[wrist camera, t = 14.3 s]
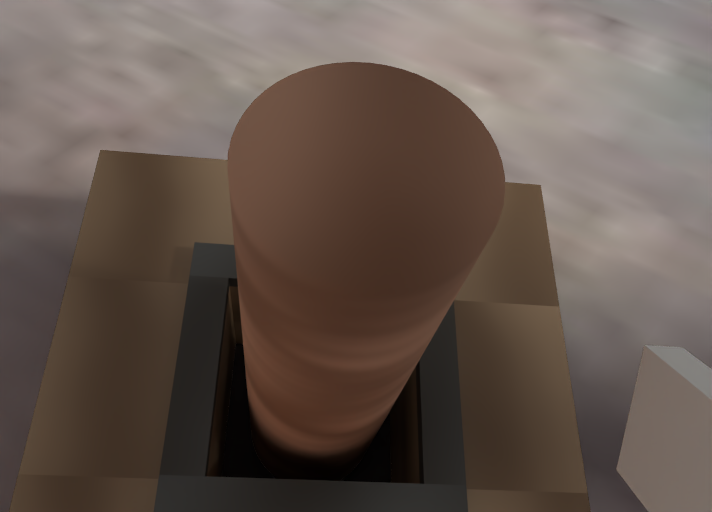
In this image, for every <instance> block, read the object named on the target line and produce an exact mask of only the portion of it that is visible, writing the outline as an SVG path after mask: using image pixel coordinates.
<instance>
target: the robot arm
mask: <svg viewBox="0 0 712 512" xmlns="http://www.w3.org/2000/svg"><path fill="white" fill-rule="evenodd" d="M616 470H617V472H618V473H619V474H620V476H621V477H622V478H623V479H624V481H625V482H626V483H627V485H628V486H629V487H630V489H631V490H632V491H633V492H634V494H635V495H636V496H637V498H638V499H639V500H640V502H641V503H642V504H643V506H644V507H645V508H646V509H647V511H648V512H712V369H711V368H709V367H708V366H707V365H705V364H704V363H703V362H701V361H700V360H699V359H697V358H696V357H695V356H693V355H692V354H691V353H689V352H688V351H687V350H685V349H684V348H683V347H670V346H654V345H644V349H643V354H642V358H641V363H640V367H639V371H638V376H637V380H636V385H635V389H634V394H633V398H632V402H631V407H630V411H629V416H628V420H627V425H626V429H625V433H624V438H623V442H622V447H621V451H620V456H619V460H618V464H617V469H616Z"/></svg>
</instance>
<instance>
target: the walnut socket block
mask: <svg viewBox="0 0 712 512" xmlns="http://www.w3.org/2000/svg"><path fill="white" fill-rule="evenodd" d="M227 165H228V160H220V159H208V158H195V157H183V156H170V155H158V154H145V153H133V152H120V151H108V150H100V153H99V157H98V161H97V165H96V169H95V173H94V177H93V181H92V185H91V189H90V193H89V197H88V201H87V205H86V209H85V213H84V217H83V221H82V225H81V228H80V232H79V236H78V240H77V244H76V248H75V252H74V256H73V260H72V264H71V268H70V272H69V276H68V280H67V284H66V288H65V292H64V296H63V299H62V303H61V307H60V311H59V315H58V319H57V323H56V327H55V331H54V335H53V339H52V343H51V347H50V351H49V355H48V359H47V363H46V367H45V371H44V374H43V378H42V382H41V386H40V390H39V394H38V398H37V402H36V406H35V410H34V414H33V418H32V422H31V426H30V430H29V434H28V438H27V442H26V446H25V449H24V453H23V457H22V461H21V465H20V469H19V473H18V477H17V481H16V485H15V489H14V493H13V497H12V501H11V505H10V509H9V512H591V511H590V505H589V498H588V492H587V485H586V479H585V472H584V465H583V459H582V452H581V446H580V439H579V433H578V426H577V420H576V413H575V407H574V400H573V394H572V387H571V380H570V374H569V367H568V361H567V354H566V348H565V341H564V335H563V328H562V322H561V315H560V309H559V302H558V295H557V289H556V282H555V276H554V269H553V263H552V256H551V250H550V243H549V237H548V230H547V224H546V217H545V210H544V204H543V197H542V191H541V185H534V184H521V183H508V182H505V197H504V205H503V209H502V212H501V216H500V219H499V221H498V223H497V226H496V228H495V230H494V232H493V234H492V235H491V237H490V239H489V241H488V242H487V244H486V246H485V248H484V249H483V251H482V253H481V254H480V256H479V258H478V260H477V261H476V263H475V265H474V267H473V268H472V270H471V272H470V273H469V275H468V277H467V279H466V280H465V282H464V284H463V286H462V287H461V289H460V291H459V292H458V294H457V296H456V298H455V299H454V301H453V303H452V305H451V306H450V308H449V310H448V311H447V313H446V315H445V317H444V318H443V320H442V322H441V324H440V325H439V327H438V329H437V330H436V332H435V334H434V336H433V337H432V339H431V341H430V343H429V344H428V346H427V348H426V349H425V351H424V353H423V355H422V356H421V358H420V360H419V362H418V363H417V365H416V367H415V368H414V370H413V372H412V374H411V375H410V377H409V379H408V381H407V382H406V384H405V386H404V387H403V389H402V391H401V393H400V394H399V396H398V398H397V400H396V401H395V403H394V405H393V406H392V408H391V410H390V457H391V483H386V482H356V481H327V480H298V479H268V478H239V477H222V469H223V460H224V451H225V441H226V432H227V423H228V413H229V404H230V395H231V385H232V376H233V367H234V358H235V348H236V343H237V344H243V337H242V326H241V314H240V303H239V292H238V281H237V270H236V259H235V248H234V237H233V226H232V215H231V204H230V192H229V181H228V170H227Z"/></svg>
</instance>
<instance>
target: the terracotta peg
mask: <svg viewBox="0 0 712 512" xmlns="http://www.w3.org/2000/svg"><path fill="white" fill-rule="evenodd" d="M227 170H228V181H229V192H230V204H231V215H232V226H233V237H234V248H235V259H236V270H237V281H238V292H239V303H240V314H241V326H242V337H243V348H244V359H245V370H246V381H247V392H248V403H249V414H250V425H251V436H252V442H253V446H254V449H255V451H256V454H257V456H258V458H259V459H260V461H261V463H262V464H263V465H264V467H265V468H266V469H267V470H268V471H269V472H270V473H271V474H272V475H274V476H275V477H276V478H277V479H298V480H327V481H340V480H342V479H343V478H345V477H346V476H348V475H349V474H350V473H351V472H352V471H353V470H354V469H355V468H356V467H357V466H358V464H359V463H360V461H361V460H362V458H363V457H364V455H365V453H366V451H367V450H368V448H369V446H370V444H371V443H372V441H373V439H374V438H375V436H376V434H377V432H378V431H379V429H380V427H381V425H382V424H383V422H384V420H385V419H386V417H387V415H388V413H389V412H390V410H391V408H392V406H393V405H394V403H395V401H396V400H397V398H398V396H399V394H400V393H401V391H402V389H403V387H404V386H405V384H406V382H407V381H408V379H409V377H410V375H411V374H412V372H413V370H414V368H415V367H416V365H417V363H418V362H419V360H420V358H421V356H422V355H423V353H424V351H425V349H426V348H427V346H428V344H429V343H430V341H431V339H432V337H433V336H434V334H435V332H436V330H437V329H438V327H439V325H440V324H441V322H442V320H443V318H444V317H445V315H446V313H447V311H448V310H449V308H450V306H451V305H452V303H453V301H454V299H455V298H456V296H457V294H458V292H459V291H460V289H461V287H462V286H463V284H464V282H465V280H466V279H467V277H468V275H469V273H470V272H471V270H472V268H473V267H474V265H475V263H476V261H477V260H478V258H479V256H480V254H481V253H482V251H483V249H484V248H485V246H486V244H487V242H488V241H489V239H490V237H491V235H492V234H493V232H494V230H495V228H496V226H497V223H498V221H499V219H500V216H501V212H502V209H503V205H504V197H505V175H504V170H503V165H502V160H501V157H500V155H499V152H498V149H497V146H496V144H495V143H494V141H493V139H492V137H491V135H490V133H489V132H488V130H487V129H486V127H485V126H484V124H483V123H482V121H481V120H480V119H479V118H478V117H477V116H476V115H475V113H474V112H473V111H472V110H471V109H470V108H469V107H468V106H467V105H465V104H464V103H463V102H462V101H461V100H460V99H459V98H457V97H456V96H455V95H453V94H452V93H450V92H449V91H448V90H446V89H445V88H443V87H441V86H439V85H438V84H436V83H434V82H433V81H431V80H428V79H426V78H424V77H422V76H420V75H417V74H415V73H412V72H409V71H406V70H403V69H399V68H395V67H391V66H387V65H381V64H374V63H361V62H345V63H333V64H326V65H320V66H316V67H313V68H309V69H305V70H302V71H300V72H297V73H295V74H292V75H290V76H288V77H286V78H284V79H282V80H280V81H278V82H277V83H275V84H274V85H272V86H271V87H269V88H268V89H267V90H265V91H264V92H263V93H262V94H261V95H260V96H258V97H257V98H256V99H255V100H254V101H253V102H252V104H251V105H250V106H249V107H248V108H247V110H246V111H245V112H244V114H243V115H242V117H241V119H240V120H239V122H238V124H237V126H236V128H235V131H234V133H233V136H232V138H231V142H230V147H229V151H228V165H227Z"/></svg>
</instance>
